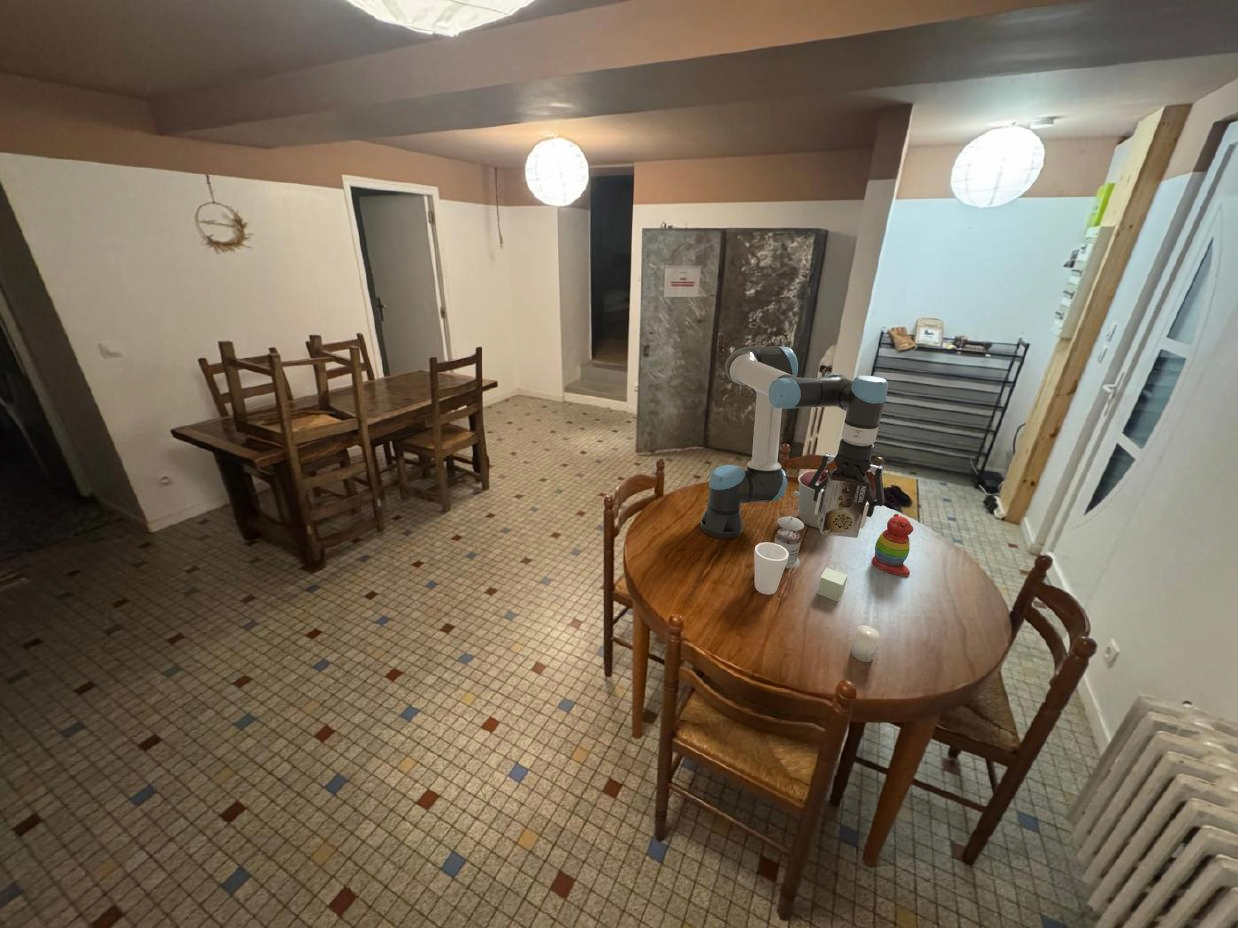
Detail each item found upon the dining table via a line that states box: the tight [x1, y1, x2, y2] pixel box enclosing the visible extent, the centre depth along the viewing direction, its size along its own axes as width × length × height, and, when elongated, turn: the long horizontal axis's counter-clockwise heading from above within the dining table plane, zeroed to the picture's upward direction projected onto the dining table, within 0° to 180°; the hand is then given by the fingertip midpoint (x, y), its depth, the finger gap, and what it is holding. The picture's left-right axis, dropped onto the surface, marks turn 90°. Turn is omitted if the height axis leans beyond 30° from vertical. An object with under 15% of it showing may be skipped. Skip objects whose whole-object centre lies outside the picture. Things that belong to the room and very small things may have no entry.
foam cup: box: [753, 541, 789, 595], centre depth 137 cm, size 10×9×13 cm
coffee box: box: [817, 469, 871, 539], centre depth 121 cm, size 9×6×16 cm
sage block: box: [816, 566, 849, 603], centre depth 137 cm, size 6×6×6 cm
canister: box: [797, 469, 829, 529], centre depth 172 cm, size 18×18×21 cm
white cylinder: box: [850, 624, 881, 663], centre depth 115 cm, size 5×5×7 cm
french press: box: [773, 490, 805, 569], centre depth 149 cm, size 10×12×25 cm
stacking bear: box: [871, 513, 915, 577], centre depth 148 cm, size 11×10×18 cm
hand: (839, 519), depth 123 cm, fingers closed on coffee box, 10 cm apart
